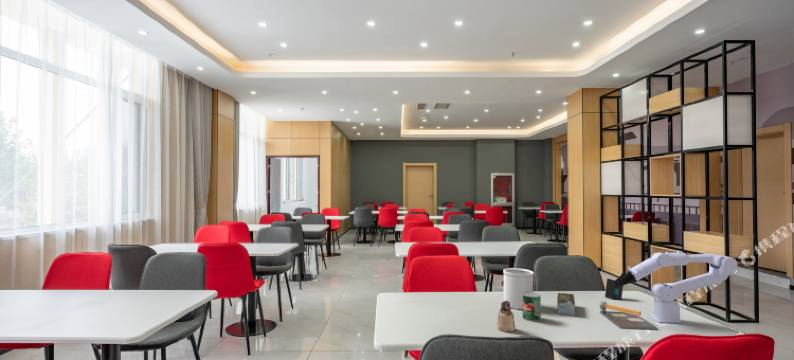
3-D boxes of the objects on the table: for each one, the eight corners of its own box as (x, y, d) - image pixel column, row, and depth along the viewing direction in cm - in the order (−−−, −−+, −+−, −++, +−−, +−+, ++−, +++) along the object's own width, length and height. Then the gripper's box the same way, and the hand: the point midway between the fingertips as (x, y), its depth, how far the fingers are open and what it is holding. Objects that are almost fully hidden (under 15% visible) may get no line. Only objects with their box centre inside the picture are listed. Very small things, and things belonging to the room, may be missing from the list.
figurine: (511, 326, 173) (512, 298, 173) (517, 332, 166) (517, 303, 166) (495, 326, 173) (495, 298, 173) (500, 332, 166) (500, 302, 166)
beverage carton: (557, 315, 191) (557, 300, 191) (557, 304, 208) (557, 291, 208) (575, 317, 188) (575, 302, 188) (574, 306, 205) (574, 293, 206)
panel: (632, 314, 192) (632, 309, 192) (657, 329, 171) (657, 324, 171) (599, 312, 194) (599, 307, 194) (619, 328, 173) (619, 322, 173)
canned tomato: (542, 317, 185) (542, 293, 186) (538, 322, 179) (538, 297, 179) (524, 314, 189) (524, 291, 190) (520, 319, 183) (520, 294, 183)
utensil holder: (529, 302, 211) (529, 268, 211) (536, 310, 196) (536, 274, 196) (500, 301, 212) (501, 267, 213) (505, 309, 197) (505, 273, 198)
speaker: (609, 299, 217) (611, 280, 218) (604, 297, 223) (606, 278, 224) (624, 301, 217) (625, 281, 217) (618, 298, 222) (620, 279, 223)
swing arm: (598, 307, 193) (598, 302, 193) (601, 306, 195) (601, 300, 195) (638, 317, 179) (638, 310, 179) (641, 316, 181) (641, 309, 181)
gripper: (633, 262, 194) (608, 276, 196) (641, 261, 181) (614, 276, 182) (643, 275, 192) (617, 289, 193) (652, 275, 178) (624, 290, 180)
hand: (616, 284), depth 188 cm, fingers open, 7 cm apart
